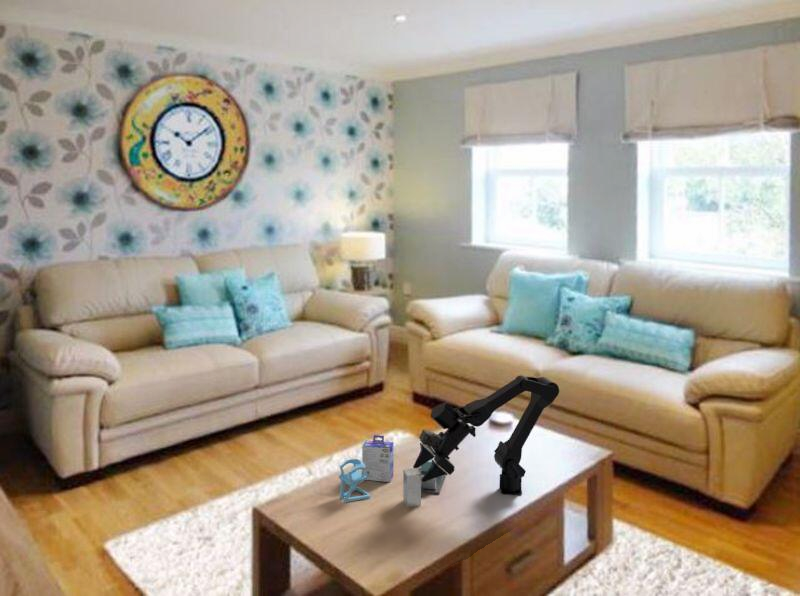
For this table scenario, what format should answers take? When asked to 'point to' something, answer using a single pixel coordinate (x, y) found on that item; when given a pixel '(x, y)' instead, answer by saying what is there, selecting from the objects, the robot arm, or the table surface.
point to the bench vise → (431, 484)
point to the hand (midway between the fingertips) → (418, 474)
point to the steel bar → (412, 487)
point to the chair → (352, 480)
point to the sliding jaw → (427, 465)
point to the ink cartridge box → (378, 459)
